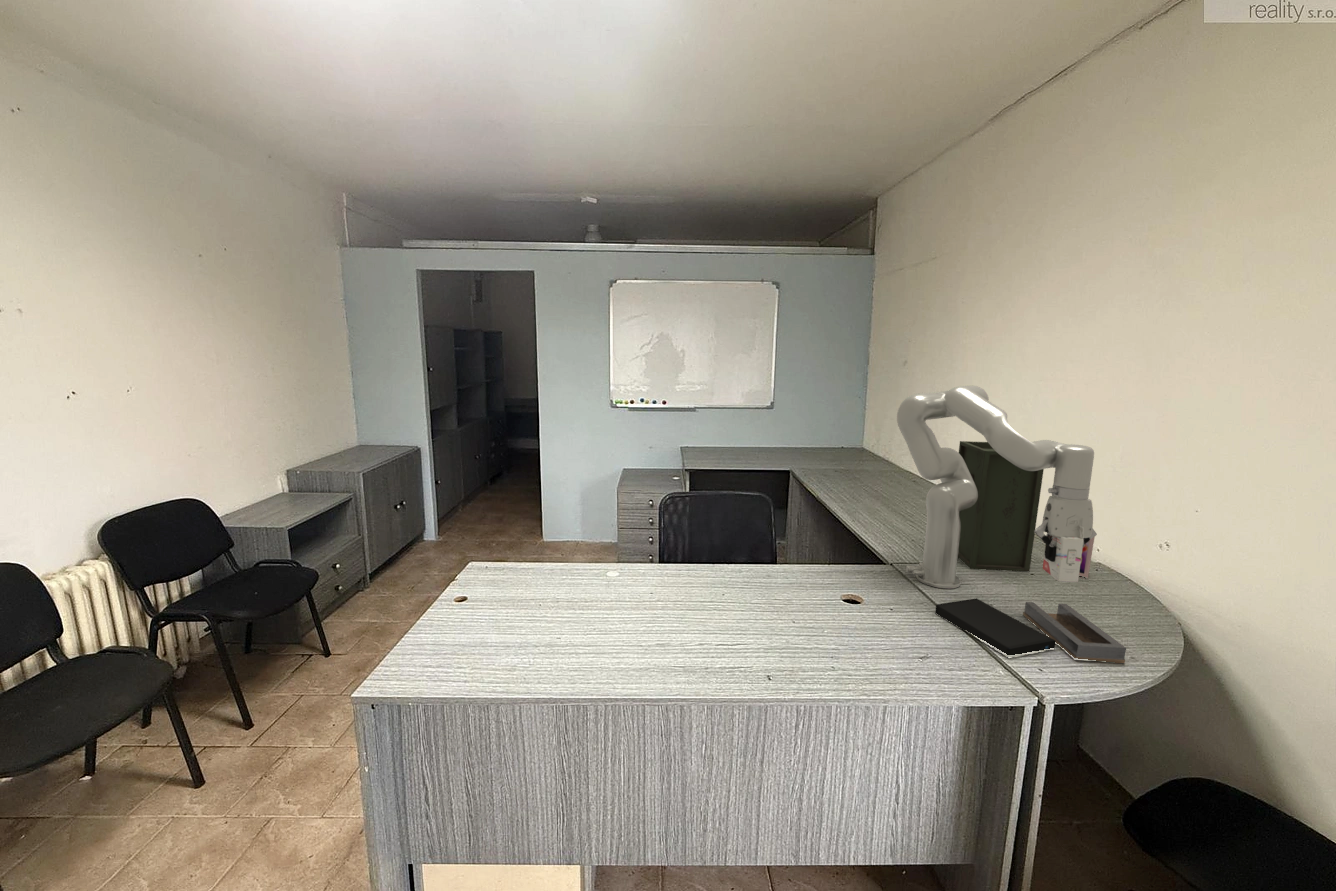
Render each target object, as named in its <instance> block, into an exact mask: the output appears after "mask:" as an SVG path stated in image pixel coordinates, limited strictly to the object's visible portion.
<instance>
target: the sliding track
mask: <svg viewBox="0 0 1336 891" xmlns="http://www.w3.org/2000/svg"><path fill="white" fill-rule="evenodd" d="M1023 615H1024V616H1025V617H1026V618H1027V619H1026V618H1025V617H1024V616H1023ZM1022 616H1023V617H1024V618H1025V619H1026V620H1028V619H1029V620H1030V621H1031V622H1032V623H1034V624H1035V625H1036V626H1037V627H1038V628H1039V629H1041V630H1042V631H1043V632H1044V633H1045V634H1047V635H1048V636H1049V637H1050V638H1052V639H1053V640H1055V641H1056V643H1057V644H1059V645H1060V646H1061V647H1062V648H1064V649H1065V650H1066V651H1067V652H1068V653H1069V654H1070V655H1072V656H1073V657H1074V658H1078V659H1088V660H1096V661H1106V662H1115V663H1114V664H1120V663H1126V659H1125V657H1126V651H1127V647H1126V646H1125V645H1123V644H1122V643H1121V642H1119V641H1118V640H1116V639H1114V637H1112V636H1111V635H1109V634H1108V633H1106V632H1105V631H1104V630H1103V629H1102V628H1100V627H1098V626H1097V625H1096V624H1094V623H1093V622H1091V621H1090V620H1089V619H1088V618H1086V617H1085V616H1084V615H1082V614H1081V613H1079V611H1076V610H1075V609H1074V608H1072V607H1071V606H1070V605H1069V604H1067V603H1058V606H1057V612H1056V613H1052V612H1051V613H1048V612H1046V611H1045V610H1044V609H1042V608H1041V607H1040V606H1039V605H1037V604H1036V603H1035V602H1034V601H1033V602H1032V601H1025V605H1024V611H1023V613H1022ZM1029 620H1028V621H1029ZM1030 621H1029V622H1030ZM1031 622H1030V623H1031ZM1032 623H1031V624H1032ZM1037 627H1036V628H1037ZM1038 628H1037V629H1038ZM1039 629H1038V630H1039ZM1045 634H1044V635H1045Z"/></svg>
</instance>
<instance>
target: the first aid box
mask: <svg viewBox="0 0 1336 891" xmlns="http://www.w3.org/2000/svg"><path fill="white" fill-rule="evenodd" d="M958 453H959V454H960V455H961V456H962V458H963V459H964V461H965V463H966V466H967V468H968V470H969V472H970V474H971V476H972V479H973V481H974V483H975V485H976V488H977V491H978V499H977V501H976V503H975V504H974V505H973V506H972V507H970V508H967V509H964V510H961V511H959V517H960V522H961V532H960V542H959V550H958V559H959V560H960V561H961V562H962V563H963V564H964V565H965V566H967V567H968V569H970V570H979V569H986V570H985V571H1000V570H1012V571H1011V572H1021V571H1029V572H1030V568H1031V563H1032V562H1031V561H1032V555H1033V548H1034V541H1035V535H1036V534H1035V533H1034V531H1035V530H1036V529H1037V528H1036V526H1037V518H1038V512H1039V506H1040V497H1041V490H1042V484H1043V478H1044V476H1043V475H1044V470H1045V469H1041V470H1038V471H1026V470H1023V469H1021V468H1019V467H1017V466H1015V465H1014V464H1012V463H1011V462H1009V461H1008V460H1007V459H1005V458H1004V457H1002V456H1001V455H1000V454H998V453H997V452H996V451H995V450H994V449H993V448H992V447H991V445H990V444H989V443H988V442H987V441H971V440H970V441H965V440H963V441H962V440H960V441H959V447H958Z"/></svg>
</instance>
